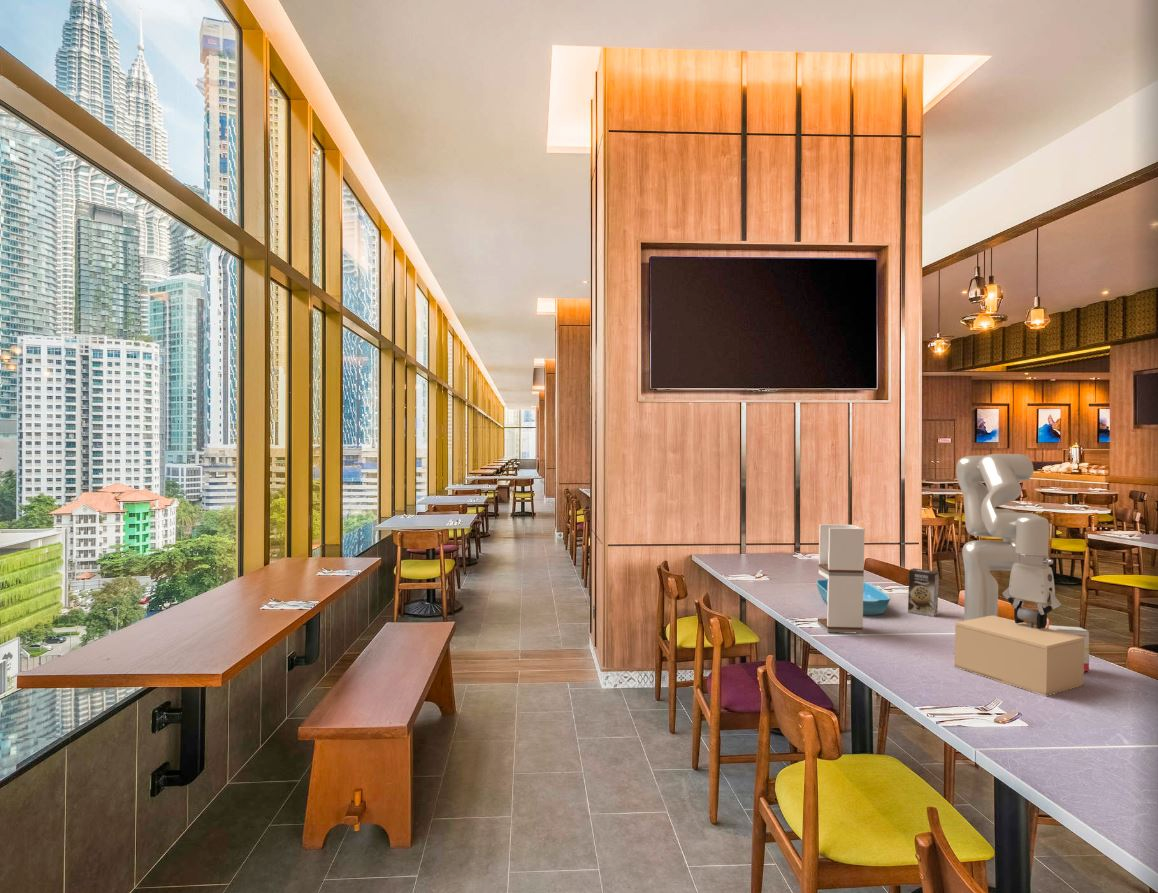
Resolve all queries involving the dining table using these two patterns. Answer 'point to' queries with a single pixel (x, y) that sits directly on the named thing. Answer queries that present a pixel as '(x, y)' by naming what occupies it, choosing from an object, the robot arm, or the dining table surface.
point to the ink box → (1078, 632)
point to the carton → (1020, 661)
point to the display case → (842, 576)
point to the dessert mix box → (923, 592)
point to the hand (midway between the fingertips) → (1030, 624)
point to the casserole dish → (872, 597)
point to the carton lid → (1021, 629)
